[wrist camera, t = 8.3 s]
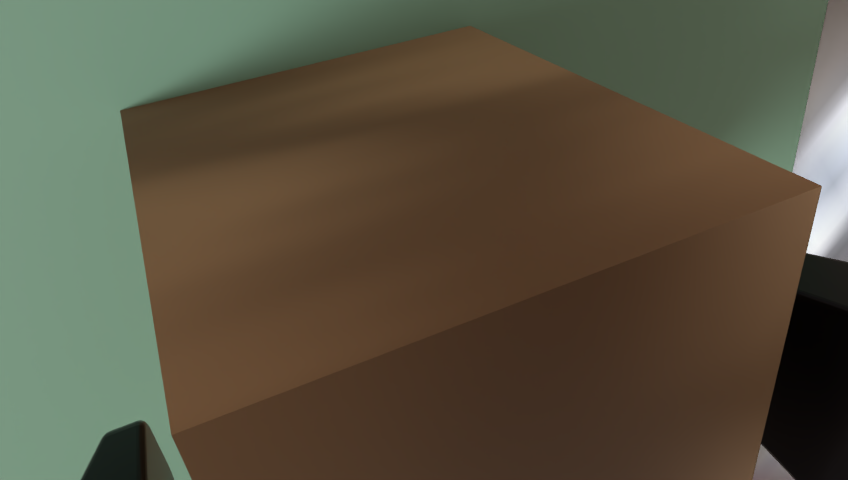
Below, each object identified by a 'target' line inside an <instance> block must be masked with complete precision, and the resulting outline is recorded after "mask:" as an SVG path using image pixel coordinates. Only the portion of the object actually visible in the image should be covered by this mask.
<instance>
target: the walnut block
mask: <svg viewBox="0 0 848 480" xmlns="http://www.w3.org/2000/svg"><path fill="white" fill-rule="evenodd" d="M120 114H121V120H122V126H123V133H124V139H125V145H126V152H127V158H128V164H129V171H130V177H131V183H132V190H133V196H134V202H135V209H136V215H137V221H138V228H139V234H140V240H141V247H142V253H143V259H144V266H145V272H146V278H147V285H148V291H149V297H150V304H151V310H152V316H153V323H154V329H155V335H156V342H157V348H158V354H159V361H160V367H161V373H162V380H163V386H164V392H165V399H166V405H167V411H168V418H169V424H170V430H171V436H172V438H173V440H174V442H175V444H176V447H177V449H178V451H179V453H180V455H181V457H182V460H183V462H184V464H185V466H186V468H187V470H188V473H189V475H190V477H191V479H192V480H752V478H753V474H754V470H755V466H756V462H757V457H758V453H759V449H760V445H761V440H762V436H763V432H764V428H765V424H766V419H767V415H768V411H769V407H770V402H771V398H772V394H773V390H774V386H775V381H776V377H777V373H778V369H779V364H780V360H781V356H782V352H783V348H784V343H785V339H786V335H787V331H788V327H789V322H790V318H791V314H792V310H793V305H794V301H795V297H796V293H797V289H798V284H799V280H800V276H801V272H802V267H803V263H804V259H805V255H806V251H807V246H808V242H809V238H810V234H811V229H812V225H813V221H814V217H815V213H816V208H817V204H818V200H819V196H820V192H821V187H822V186H821V185H818V184H816V183H814V182H812V181H810V180H807V179H805V178H803V177H801V176H799V175H796V174H794V173H792V172H790V171H788V170H785V169H783V168H781V167H779V166H777V165H774V164H772V163H770V162H768V161H766V160H764V159H761V158H759V157H757V156H755V155H753V154H750V153H748V152H746V151H744V150H742V149H739V148H737V147H735V146H733V145H731V144H728V143H726V142H724V141H722V140H720V139H717V138H715V137H713V136H711V135H709V134H707V133H704V132H702V131H700V130H698V129H696V128H693V127H691V126H689V125H687V124H685V123H682V122H680V121H678V120H676V119H674V118H671V117H669V116H667V115H665V114H663V113H660V112H658V111H656V110H654V109H652V108H650V107H647V106H645V105H643V104H641V103H639V102H636V101H634V100H632V99H630V98H628V97H625V96H623V95H621V94H619V93H617V92H614V91H612V90H610V89H608V88H606V87H603V86H601V85H599V84H597V83H595V82H593V81H590V80H588V79H586V78H584V77H582V76H579V75H577V74H575V73H573V72H571V71H568V70H566V69H564V68H562V67H560V66H557V65H555V64H553V63H551V62H549V61H546V60H544V59H542V58H540V57H538V56H536V55H533V54H531V53H529V52H527V51H525V50H522V49H520V48H518V47H516V46H514V45H511V44H509V43H507V42H505V41H503V40H500V39H498V38H496V37H494V36H492V35H489V34H487V33H485V32H483V31H481V30H479V29H476V28H474V27H472V26H467V27H463V28H459V29H455V30H450V31H446V32H442V33H438V34H434V35H430V36H426V37H422V38H417V39H413V40H409V41H405V42H401V43H397V44H393V45H389V46H384V47H380V48H376V49H372V50H368V51H364V52H360V53H355V54H351V55H347V56H343V57H339V58H335V59H331V60H327V61H322V62H318V63H314V64H310V65H306V66H302V67H298V68H294V69H289V70H285V71H281V72H277V73H273V74H269V75H265V76H261V77H256V78H252V79H248V80H244V81H240V82H236V83H232V84H228V85H223V86H219V87H215V88H211V89H207V90H203V91H199V92H195V93H190V94H186V95H182V96H178V97H174V98H170V99H166V100H162V101H157V102H153V103H149V104H145V105H141V106H137V107H133V108H129V109H124V110H120Z"/></svg>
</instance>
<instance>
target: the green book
mask: <svg viewBox="0 0 848 480" xmlns="http://www.w3.org/2000/svg"><path fill="white" fill-rule="evenodd" d="M827 4H828V0H0V480H81V478H82V476H83V474H84V472H85V470H86V468H87V466H88V464H89V462H90V460H91V458H92V456H93V454H94V452H95V450H96V448H97V446H98V444H99V442H100V440H101V439H102V437H103V436H104V435H105V434H106V433H107V432H109V431H111V430H114V429H116V428H119V427H122V426H125V425H127V424H130V423H133V422H135V421H139V420H142V421H145V422H146V423H147V424H148V425H149V427H150V428H151V430H152V432H153V434H154V436H155V439H156V441H157V443H158V445H159V447H160V449H161V451H162V453H163V455H164V457H165V459H166V461H167V463H168V465H169V467H170V470H171V472H172V475H173V478H174V480H192V479H191V477H190V475H189V473H188V470H187V468H186V466H185V464H184V462H183V460H182V457H181V455H180V453H179V451H178V449H177V447H176V444H175V442H174V440H173V438H172V436H171V430H170V424H169V418H168V411H167V405H166V399H165V392H164V386H163V380H162V373H161V367H160V361H159V354H158V348H157V342H156V335H155V329H154V323H153V316H152V310H151V304H150V297H149V291H148V285H147V278H146V272H145V266H144V259H143V253H142V247H141V240H140V234H139V228H138V221H137V215H136V209H135V202H134V196H133V190H132V183H131V177H130V171H129V164H128V158H127V152H126V145H125V139H124V133H123V126H122V120H121V114H120V110H124V109H129V108H133V107H137V106H141V105H145V104H149V103H153V102H157V101H162V100H166V99H170V98H174V97H178V96H182V95H186V94H190V93H195V92H199V91H203V90H207V89H211V88H215V87H219V86H223V85H228V84H232V83H236V82H240V81H244V80H248V79H252V78H256V77H261V76H265V75H269V74H273V73H277V72H281V71H285V70H289V69H294V68H298V67H302V66H306V65H310V64H314V63H318V62H322V61H327V60H331V59H335V58H339V57H343V56H347V55H351V54H355V53H360V52H364V51H368V50H372V49H376V48H380V47H384V46H389V45H393V44H397V43H401V42H405V41H409V40H413V39H417V38H422V37H426V36H430V35H434V34H438V33H442V32H446V31H450V30H455V29H459V28H463V27H467V26H472V27H474V28H476V29H479V30H481V31H483V32H485V33H487V34H489V35H492V36H494V37H496V38H498V39H500V40H503V41H505V42H507V43H509V44H511V45H514V46H516V47H518V48H520V49H522V50H525V51H527V52H529V53H531V54H533V55H536V56H538V57H540V58H542V59H544V60H546V61H549V62H551V63H553V64H555V65H557V66H560V67H562V68H564V69H566V70H568V71H571V72H573V73H575V74H577V75H579V76H582V77H584V78H586V79H588V80H590V81H593V82H595V83H597V84H599V85H601V86H603V87H606V88H608V89H610V90H612V91H614V92H617V93H619V94H621V95H623V96H625V97H628V98H630V99H632V100H634V101H636V102H639V103H641V104H643V105H645V106H647V107H650V108H652V109H654V110H656V111H658V112H660V113H663V114H665V115H667V116H669V117H671V118H674V119H676V120H678V121H680V122H682V123H685V124H687V125H689V126H691V127H693V128H696V129H698V130H700V131H702V132H704V133H707V134H709V135H711V136H713V137H715V138H717V139H720V140H722V141H724V142H726V143H728V144H731V145H733V146H735V147H737V148H739V149H742V150H744V151H746V152H748V153H750V154H753V155H755V156H757V157H759V158H761V159H764V160H766V161H768V162H770V163H772V164H774V165H777V166H779V167H781V168H783V169H785V170H788V171H790V172H792V171H793V166H794V161H795V156H796V152H797V147H798V142H799V137H800V133H801V128H802V123H803V118H804V114H805V109H806V104H807V99H808V95H809V90H810V85H811V80H812V76H813V71H814V66H815V61H816V57H817V52H818V47H819V42H820V38H821V33H822V28H823V23H824V19H825V14H826V9H827Z"/></svg>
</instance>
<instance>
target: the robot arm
mask: <svg viewBox="0 0 848 480" xmlns="http://www.w3.org/2000/svg"><path fill="white" fill-rule="evenodd" d="M761 444H762V445H763V446H764V447H765V448H766V450H767V451H768V452H769V453H770V454H771V455H772V456H773V457H774V458H775V459H776V460H777V461H778V462H779V463H780V464H781V465H782V466H783V467H784V469H785V470H786V471H787V472H788V473H789V474H790V475H791V476H792V477H793V478H794V479H795V480H848V262H845V261H841V260H836V259H831V258H826V257H822V256H817V255H812V254H808V253H806V255H805V259H804V263H803V267H802V272H801V276H800V280H799V284H798V289H797V293H796V297H795V301H794V305H793V310H792V314H791V318H790V322H789V327H788V331H787V335H786V339H785V343H784V348H783V352H782V356H781V360H780V364H779V369H778V373H777V377H776V381H775V386H774V390H773V394H772V398H771V402H770V407H769V411H768V415H767V419H766V424H765V428H764V432H763V436H762V440H761ZM81 480H174V478H173V475H172V472H171V470H170V467H169V465H168V463H167V461H166V459H165V457H164V455H163V453H162V451H161V449H160V447H159V445H158V443H157V441H156V439H155V436H154V434H153V432H152V430H151V428H150V427H149V425H148V424H147V423H146V422H145V421H142V420H139V421H135V422H133V423H130V424H127V425H125V426H122V427H119V428H116V429H114V430H111V431H109V432H107V433H106V434H105V435H104V436H103V437H102V439H101V440H100V442H99V444H98V446H97V448H96V450H95V452H94V454H93V456H92V458H91V460H90V462H89V464H88V466H87V468H86V470H85V472H84V474H83V476H82V478H81Z"/></svg>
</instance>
